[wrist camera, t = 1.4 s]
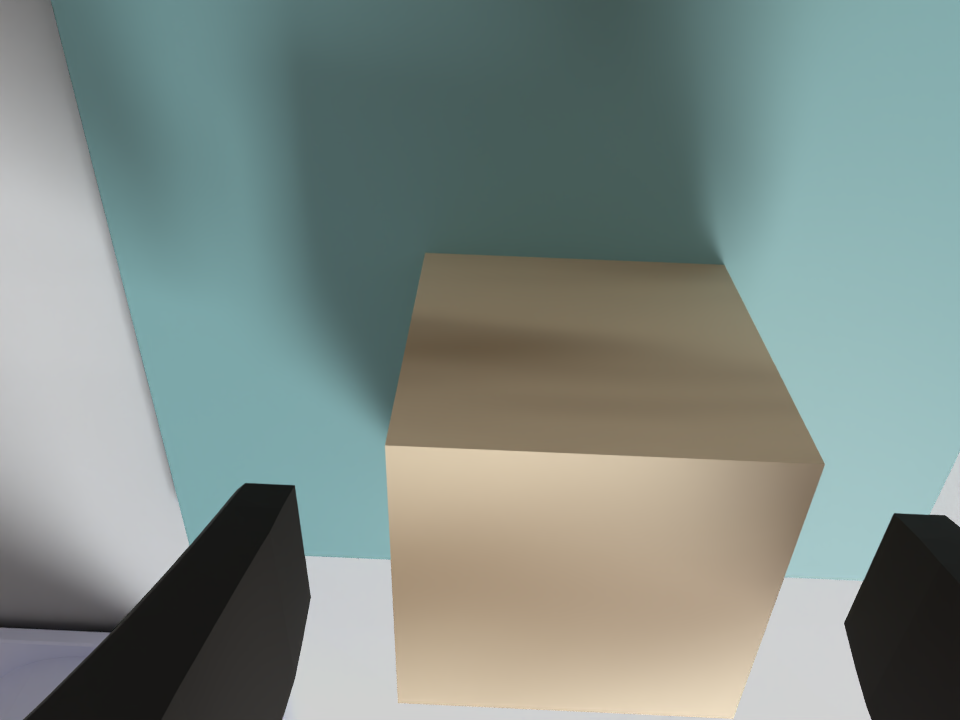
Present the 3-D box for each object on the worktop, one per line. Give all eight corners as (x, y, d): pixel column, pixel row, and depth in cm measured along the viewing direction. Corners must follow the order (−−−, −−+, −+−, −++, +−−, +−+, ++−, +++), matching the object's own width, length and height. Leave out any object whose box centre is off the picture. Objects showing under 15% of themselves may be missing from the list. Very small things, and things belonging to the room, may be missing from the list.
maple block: (674, 486, 14) (733, 719, 10) (427, 476, 14) (398, 702, 11) (724, 264, 12) (824, 464, 8) (424, 253, 12) (384, 444, 8)
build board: (880, 551, 16) (896, 582, 15) (203, 521, 16) (191, 550, 16) (1722, -1317, 6) (1888, -1477, 5) (-235, -1350, 6) (-333, -1505, 5)
